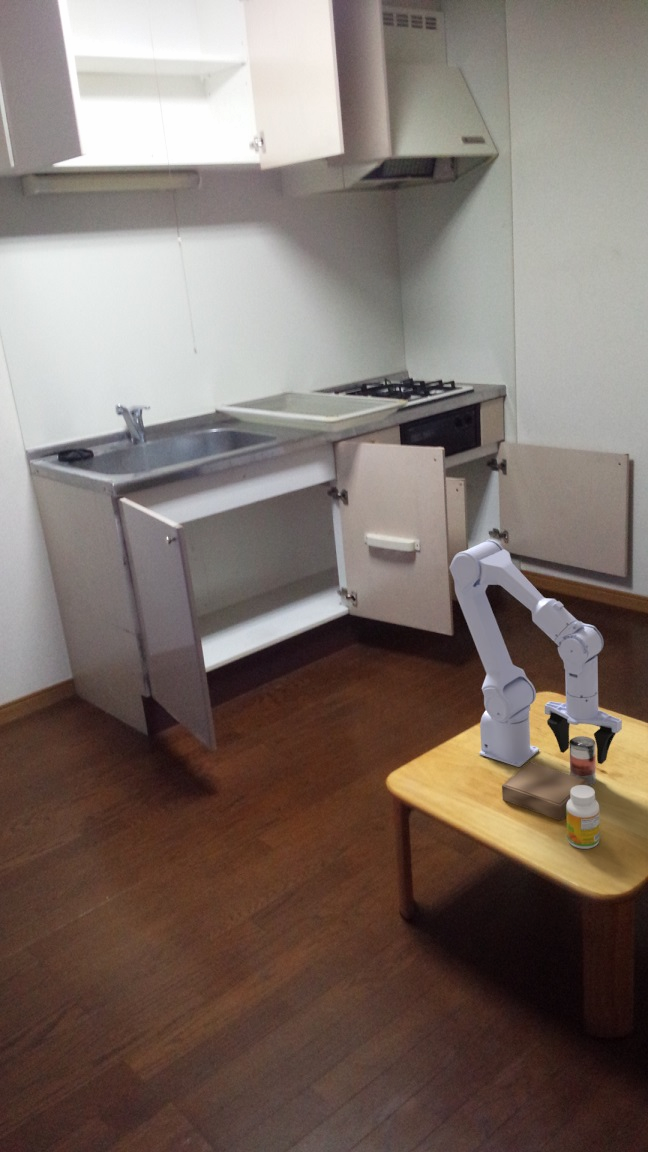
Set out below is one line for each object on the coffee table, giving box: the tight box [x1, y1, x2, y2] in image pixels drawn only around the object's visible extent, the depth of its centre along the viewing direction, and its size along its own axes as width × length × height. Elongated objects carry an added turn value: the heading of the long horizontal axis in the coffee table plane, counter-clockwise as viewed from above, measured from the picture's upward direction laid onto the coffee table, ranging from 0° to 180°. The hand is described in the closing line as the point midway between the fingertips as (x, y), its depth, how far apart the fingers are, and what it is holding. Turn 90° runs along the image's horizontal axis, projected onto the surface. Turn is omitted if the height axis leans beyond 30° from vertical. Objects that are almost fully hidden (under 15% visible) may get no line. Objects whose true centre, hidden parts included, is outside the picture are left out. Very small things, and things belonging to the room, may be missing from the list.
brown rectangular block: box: [501, 761, 588, 821], centre depth 166 cm, size 12×10×3 cm
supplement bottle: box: [566, 785, 601, 850], centre depth 152 cm, size 5×5×10 cm
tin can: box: [569, 735, 597, 787], centre depth 170 cm, size 5×5×8 cm
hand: (583, 755), depth 169 cm, fingers open, 7 cm apart
